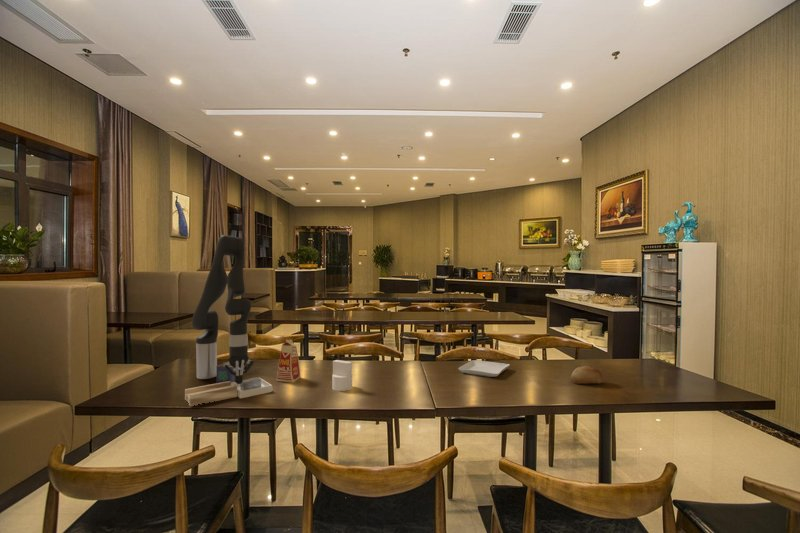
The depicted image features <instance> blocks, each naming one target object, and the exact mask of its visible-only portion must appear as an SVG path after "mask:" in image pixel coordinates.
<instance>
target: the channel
mask: <svg viewBox="0 0 800 533" xmlns="http://www.w3.org/2000/svg"><path fill="white" fill-rule="evenodd" d="M237 397H238V396H237V386H231V382H230V381H227V382H222V383H212V384H206V385H201V386H195V387H189V388H184V401H185V400H186V401H187V402H188V403H189V404H188V403H187V402H186V401H185V402H186V403H187V404H188V406H189V407H194V405H195V406H199V405H198V404H200V405H203V404H202V403H205V404H208V403H209V402H210V403H215V402H218V401H219V402H220V401H222V400H223V401H225V400H228V399H234V398H237ZM214 401H215V402H214ZM210 403H209V404H210Z"/></svg>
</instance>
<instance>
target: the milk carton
mask: <svg viewBox="0 0 800 533" xmlns="http://www.w3.org/2000/svg"><path fill="white" fill-rule="evenodd" d="M298 353H299V352H298V347H297V345H296V344H295V343H294V342H293V340H292V339H287V338H286V339H285V341H284V342H283V343H282V345H281V350H280V354H279V355H280V356H279V361H278V367H277V371H276V372H277V373H276V379H275V381H277V382H284V383H286V382H287V383H294V382H296V381H297V380H299V379H300V378H301V367H300V361H299V354H298Z"/></svg>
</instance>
